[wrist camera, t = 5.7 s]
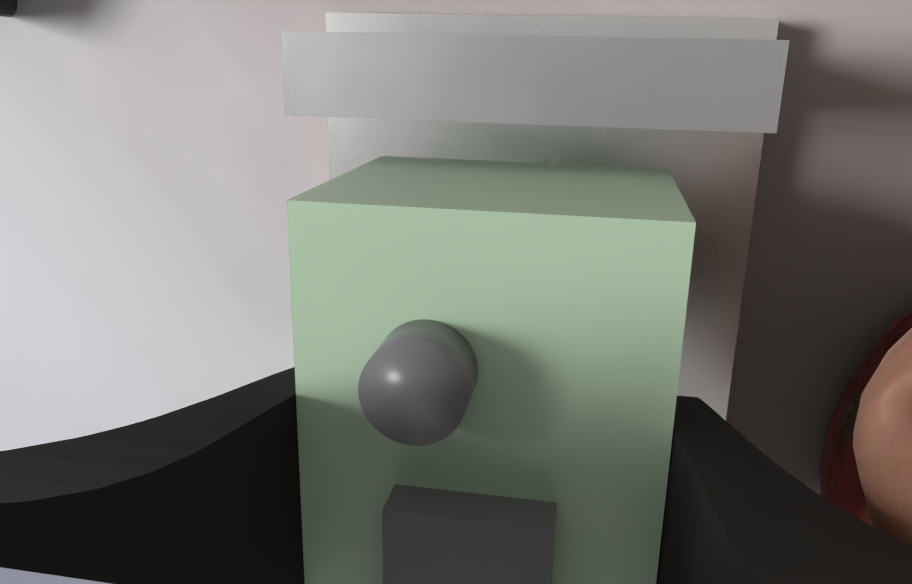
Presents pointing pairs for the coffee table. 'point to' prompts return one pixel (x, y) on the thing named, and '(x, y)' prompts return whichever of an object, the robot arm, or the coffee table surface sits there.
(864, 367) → the decorative planter
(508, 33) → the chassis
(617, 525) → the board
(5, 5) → the disk drive
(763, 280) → the coffee table surface
